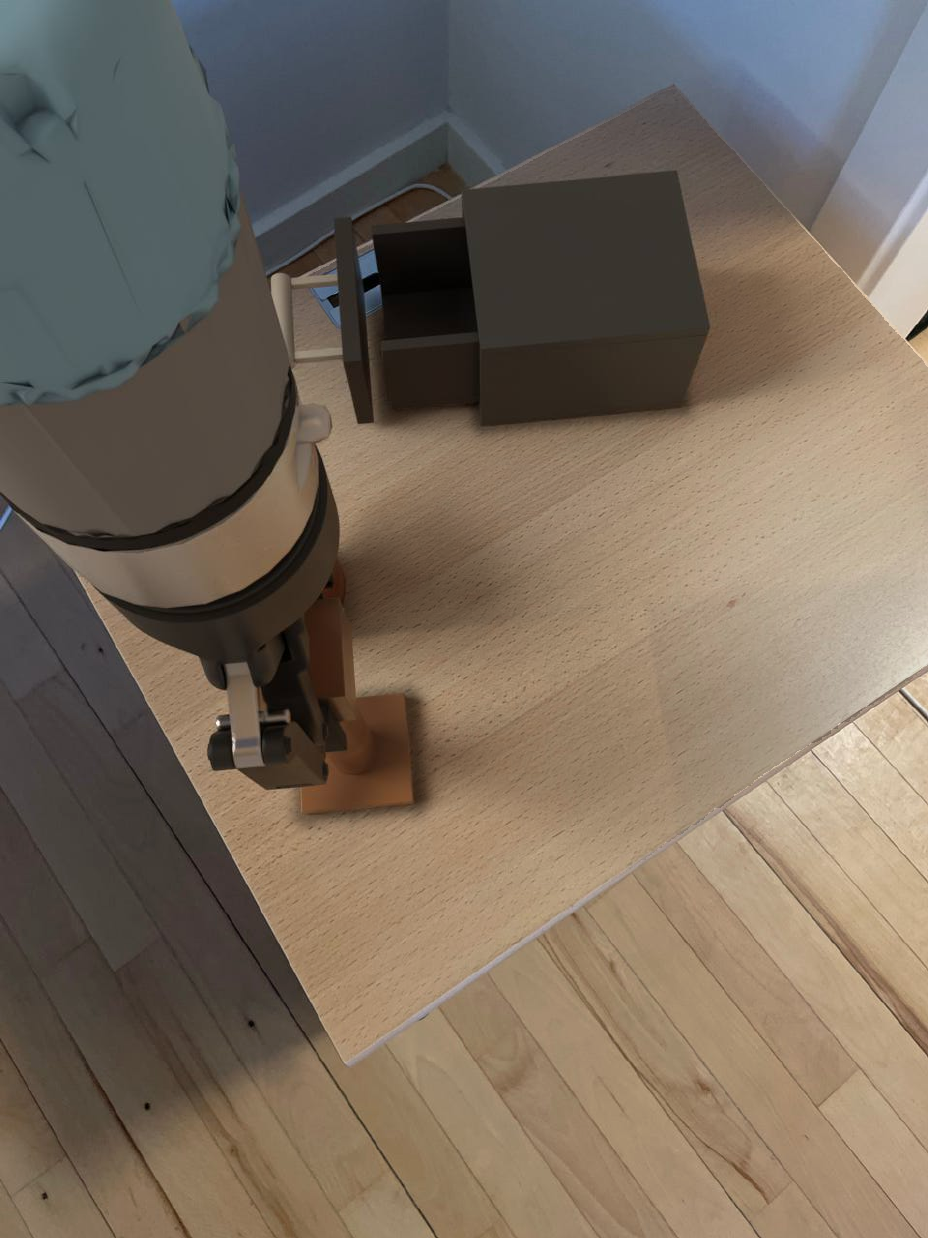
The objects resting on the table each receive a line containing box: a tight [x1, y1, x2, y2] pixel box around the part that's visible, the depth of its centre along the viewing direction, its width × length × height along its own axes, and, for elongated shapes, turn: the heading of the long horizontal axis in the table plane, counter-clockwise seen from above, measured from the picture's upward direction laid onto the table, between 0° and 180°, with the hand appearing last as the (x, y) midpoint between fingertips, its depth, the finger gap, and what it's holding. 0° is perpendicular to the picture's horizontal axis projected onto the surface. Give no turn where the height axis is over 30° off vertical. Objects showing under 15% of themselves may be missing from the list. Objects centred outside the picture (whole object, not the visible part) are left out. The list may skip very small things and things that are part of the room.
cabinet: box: [461, 169, 711, 427], centre depth 69 cm, size 15×13×10 cm
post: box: [299, 692, 415, 815], centre depth 57 cm, size 7×7×14 cm
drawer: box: [270, 216, 480, 425], centre depth 68 cm, size 18×11×8 cm, turn 96°
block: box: [304, 598, 357, 722], centre depth 44 cm, size 4×4×4 cm
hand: (317, 694), depth 50 cm, fingers closed on block, 4 cm apart
